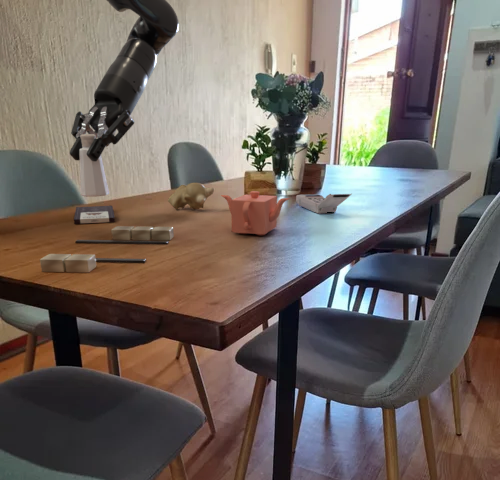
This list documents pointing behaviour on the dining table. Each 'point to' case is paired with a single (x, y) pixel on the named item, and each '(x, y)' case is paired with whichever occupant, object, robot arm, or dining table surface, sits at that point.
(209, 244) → the dining table surface
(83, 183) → the pepper shaker
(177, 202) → the rhino figurine
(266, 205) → the teapot
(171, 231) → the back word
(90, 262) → the front word
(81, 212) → the chocolate bar
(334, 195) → the mobile phone
